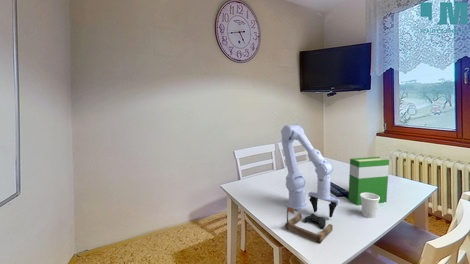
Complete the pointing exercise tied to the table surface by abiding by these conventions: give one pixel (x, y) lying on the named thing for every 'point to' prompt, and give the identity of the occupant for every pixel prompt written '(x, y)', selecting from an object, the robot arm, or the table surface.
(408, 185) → the table surface
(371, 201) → the dixie cup
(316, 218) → the gaming controller
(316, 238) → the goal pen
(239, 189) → the table surface
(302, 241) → the table surface
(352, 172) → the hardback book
